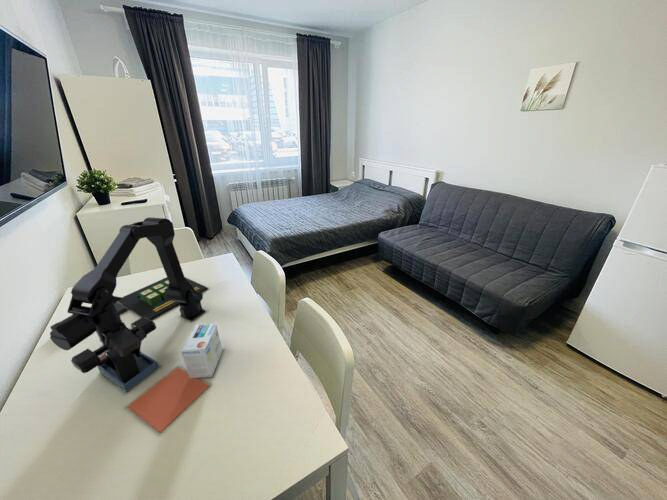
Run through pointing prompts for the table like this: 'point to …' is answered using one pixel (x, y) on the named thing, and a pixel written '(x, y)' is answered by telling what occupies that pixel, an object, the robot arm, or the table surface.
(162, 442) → the table surface
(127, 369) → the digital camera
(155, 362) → the slate tray
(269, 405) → the table surface
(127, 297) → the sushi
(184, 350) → the light bulb box
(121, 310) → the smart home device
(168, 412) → the terracotta mat
